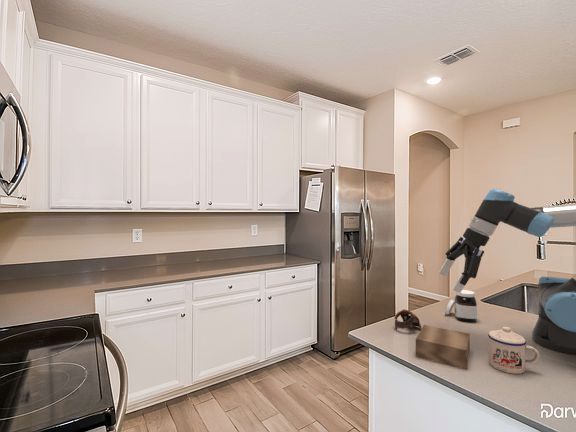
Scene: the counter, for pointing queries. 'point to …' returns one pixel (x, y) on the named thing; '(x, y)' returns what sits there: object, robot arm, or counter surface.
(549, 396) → the counter surface
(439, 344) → the walnut block
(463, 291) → the spread jar
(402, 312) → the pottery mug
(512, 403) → the counter surface
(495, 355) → the teacup with lid
